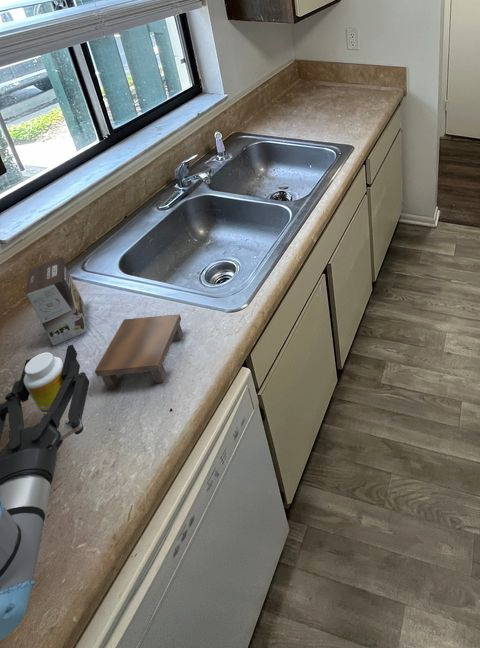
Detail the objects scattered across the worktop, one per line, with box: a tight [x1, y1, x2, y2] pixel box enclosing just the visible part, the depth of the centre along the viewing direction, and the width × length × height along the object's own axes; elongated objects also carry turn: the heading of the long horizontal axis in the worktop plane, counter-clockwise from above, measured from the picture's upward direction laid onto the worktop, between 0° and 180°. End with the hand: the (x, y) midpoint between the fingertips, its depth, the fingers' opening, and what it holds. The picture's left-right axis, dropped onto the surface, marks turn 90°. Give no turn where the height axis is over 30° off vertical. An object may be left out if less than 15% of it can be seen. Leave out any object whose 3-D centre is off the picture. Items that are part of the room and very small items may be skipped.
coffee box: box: [25, 256, 86, 346], centre depth 99 cm, size 9×6×16 cm
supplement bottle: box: [24, 351, 73, 414], centre depth 78 cm, size 6×6×10 cm
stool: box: [94, 313, 184, 389], centre depth 93 cm, size 12×12×6 cm
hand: (52, 357), depth 82 cm, fingers closed on supplement bottle, 6 cm apart
